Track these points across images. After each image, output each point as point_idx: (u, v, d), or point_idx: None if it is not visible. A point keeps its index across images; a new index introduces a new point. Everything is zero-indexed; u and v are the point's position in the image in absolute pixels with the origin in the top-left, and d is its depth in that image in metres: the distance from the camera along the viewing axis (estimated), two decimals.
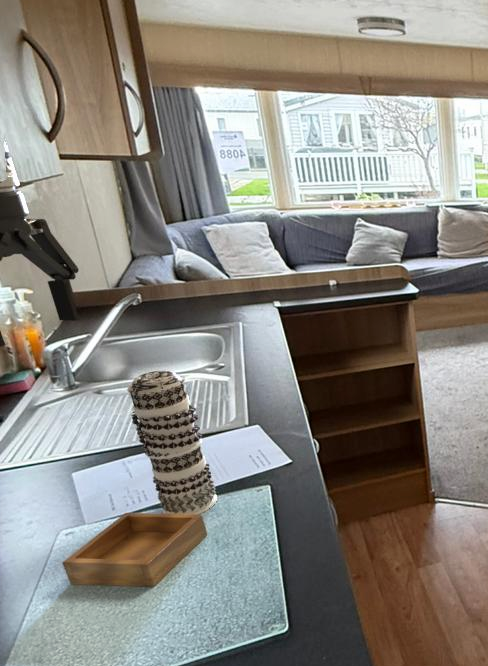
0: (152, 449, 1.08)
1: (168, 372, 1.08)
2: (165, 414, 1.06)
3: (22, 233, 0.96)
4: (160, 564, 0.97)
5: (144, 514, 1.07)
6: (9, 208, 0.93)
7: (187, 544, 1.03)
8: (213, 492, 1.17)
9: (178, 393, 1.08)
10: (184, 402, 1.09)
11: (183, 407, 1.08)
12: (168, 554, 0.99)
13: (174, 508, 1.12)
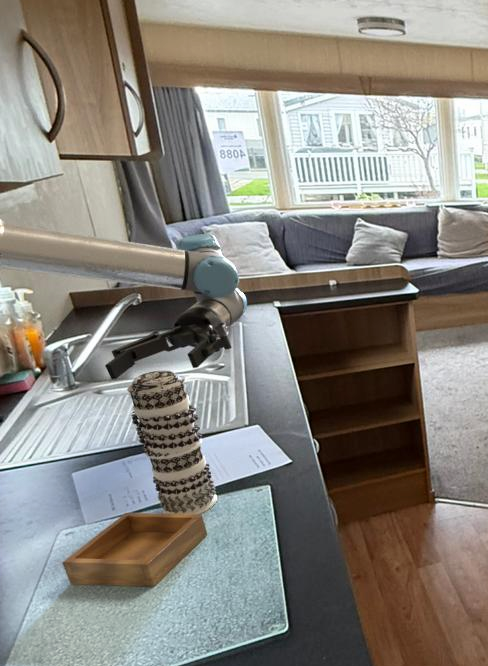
0: (152, 449, 1.08)
1: (168, 372, 1.08)
2: (165, 414, 1.06)
3: None
4: (160, 564, 0.97)
5: (144, 514, 1.07)
6: None
7: (187, 544, 1.03)
8: (213, 492, 1.17)
9: (178, 393, 1.08)
10: (184, 402, 1.09)
11: (183, 407, 1.08)
12: (168, 554, 0.99)
13: (174, 508, 1.12)
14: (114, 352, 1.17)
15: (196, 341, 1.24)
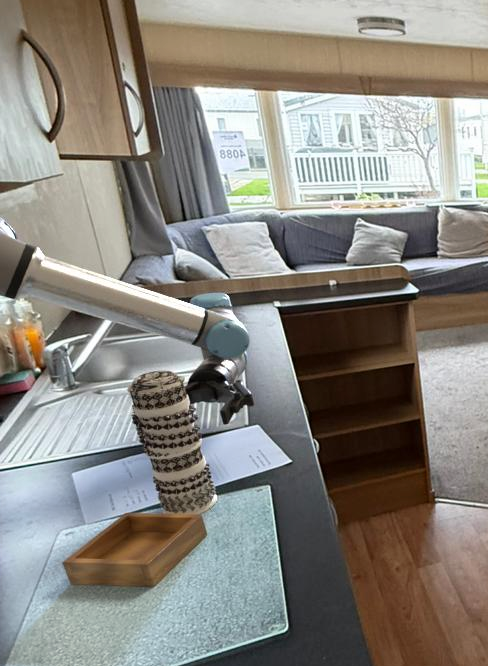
0: (152, 449, 1.08)
1: (168, 372, 1.08)
2: (165, 414, 1.06)
3: None
4: (160, 564, 0.97)
5: (144, 514, 1.07)
6: None
7: (187, 544, 1.03)
8: (213, 492, 1.17)
9: (178, 393, 1.08)
10: (184, 402, 1.09)
11: (183, 407, 1.08)
12: (168, 554, 0.99)
13: (174, 508, 1.12)
14: None
15: (214, 397, 1.28)
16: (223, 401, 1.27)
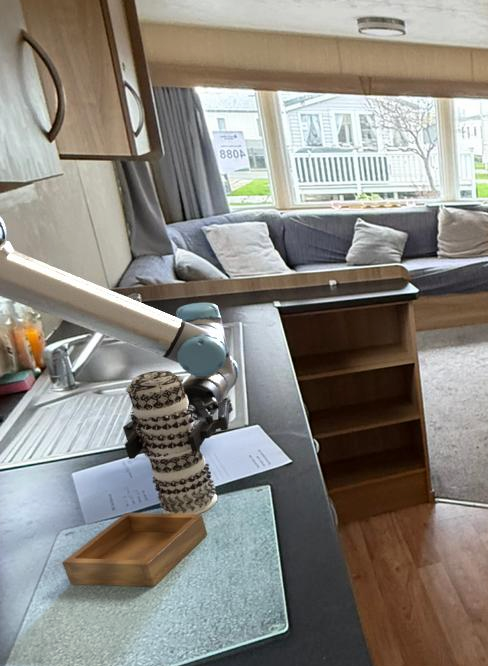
0: (151, 449, 1.08)
1: (166, 372, 1.08)
2: (164, 414, 1.06)
3: None
4: (160, 564, 0.97)
5: (144, 514, 1.07)
6: None
7: (187, 544, 1.03)
8: (213, 492, 1.17)
9: (177, 393, 1.07)
10: (183, 402, 1.09)
11: (181, 407, 1.08)
12: (168, 554, 0.99)
13: (174, 508, 1.12)
14: (127, 428, 1.11)
15: (197, 416, 1.20)
16: None
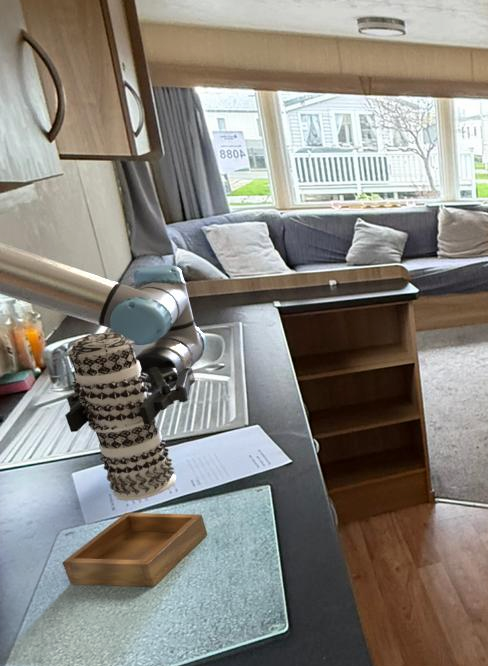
0: (97, 422, 0.96)
1: (115, 334, 0.95)
2: (111, 381, 0.93)
3: None
4: (160, 564, 0.97)
5: (144, 514, 1.07)
6: None
7: (187, 544, 1.03)
8: (171, 471, 1.04)
9: (126, 357, 0.95)
10: (134, 369, 0.96)
11: (132, 374, 0.96)
12: (168, 554, 0.99)
13: (125, 489, 0.99)
14: (71, 398, 0.98)
15: (153, 387, 1.07)
16: None
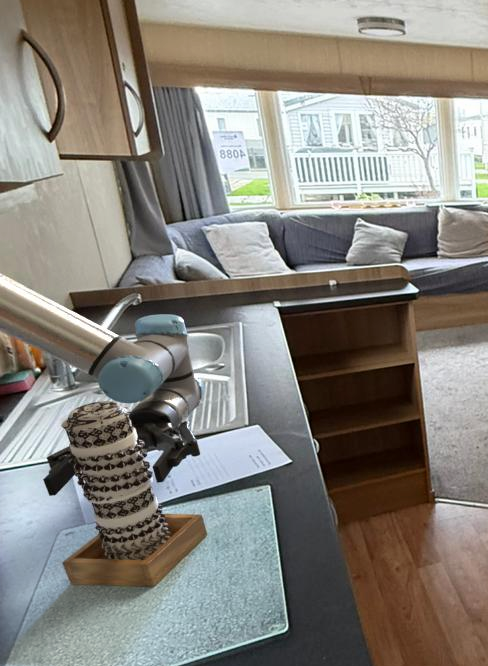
0: (92, 492, 0.94)
1: (111, 403, 0.94)
2: (106, 453, 0.92)
3: None
4: (160, 564, 0.97)
5: None
6: None
7: (187, 544, 1.03)
8: (167, 537, 1.02)
9: (122, 428, 0.93)
10: (130, 438, 0.94)
11: (128, 444, 0.94)
12: (168, 554, 0.99)
13: (120, 558, 0.98)
14: (50, 459, 0.97)
15: (153, 444, 1.05)
16: (163, 449, 1.04)
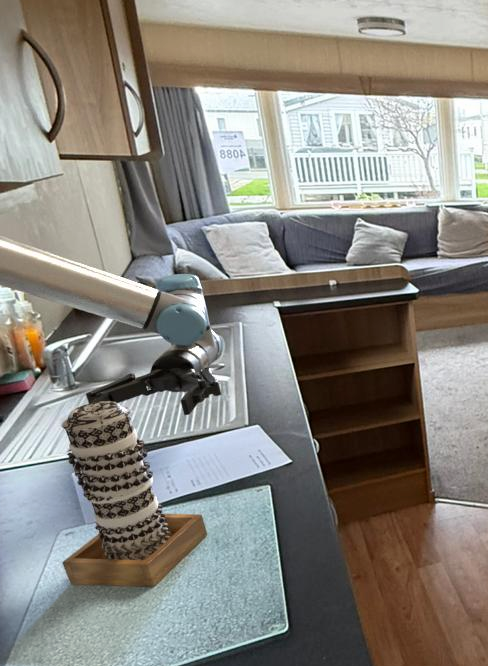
0: (92, 492, 0.94)
1: (111, 403, 0.94)
2: (106, 453, 0.92)
3: None
4: (160, 564, 0.97)
5: None
6: None
7: (187, 544, 1.03)
8: (167, 537, 1.02)
9: (122, 428, 0.93)
10: (130, 438, 0.94)
11: (128, 444, 0.94)
12: (168, 554, 0.99)
13: (120, 558, 0.98)
14: (89, 395, 1.09)
15: (178, 386, 1.17)
16: (188, 390, 1.16)
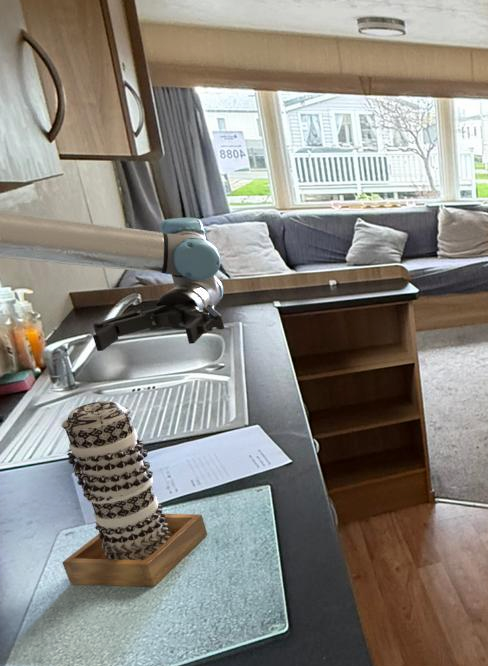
0: (92, 492, 0.94)
1: (111, 403, 0.94)
2: (106, 453, 0.92)
3: None
4: (160, 564, 0.97)
5: None
6: None
7: (187, 544, 1.03)
8: (167, 537, 1.02)
9: (122, 428, 0.93)
10: (130, 438, 0.94)
11: (128, 444, 0.94)
12: (168, 554, 0.99)
13: (120, 558, 0.98)
14: (96, 325, 1.13)
15: (183, 321, 1.20)
16: None
